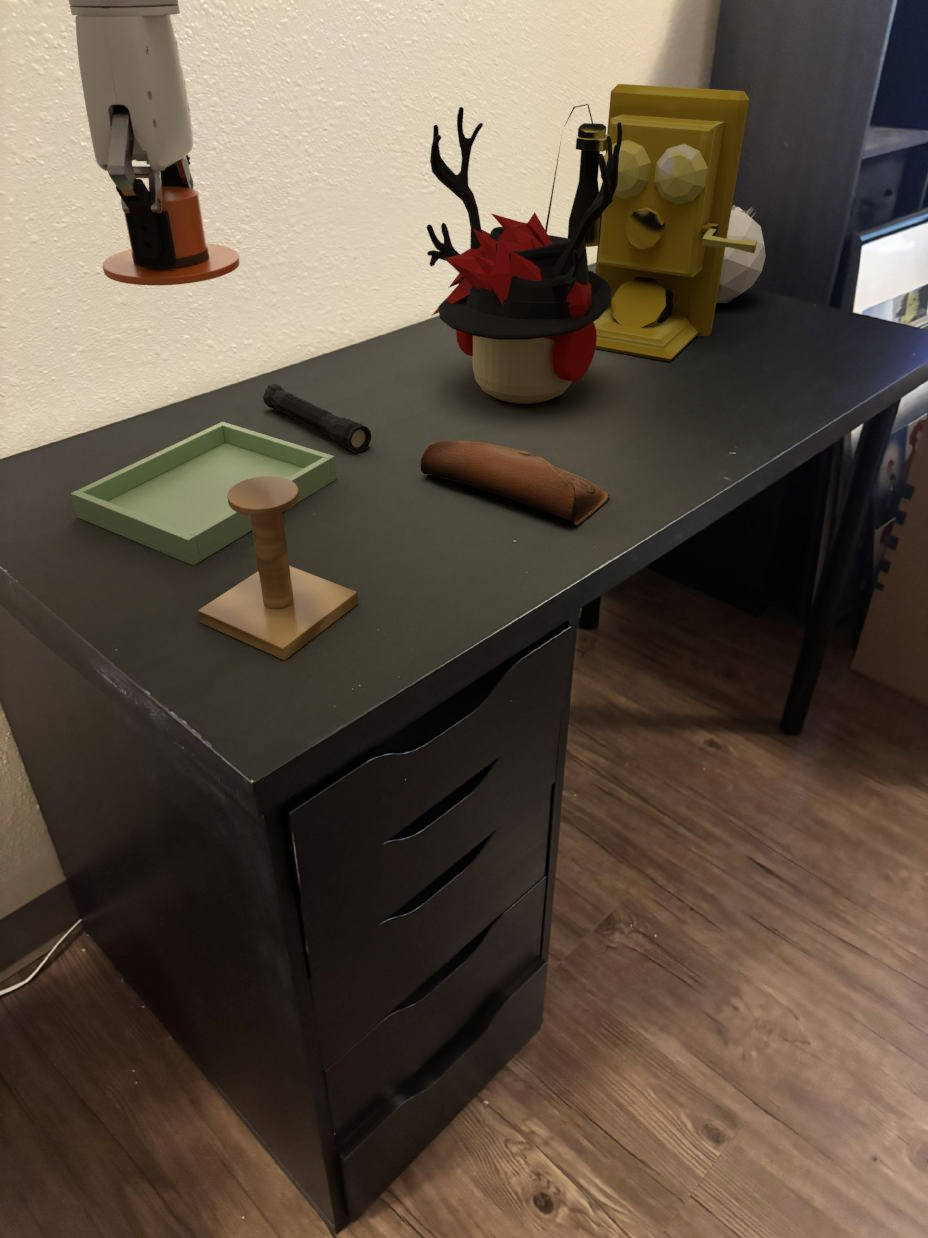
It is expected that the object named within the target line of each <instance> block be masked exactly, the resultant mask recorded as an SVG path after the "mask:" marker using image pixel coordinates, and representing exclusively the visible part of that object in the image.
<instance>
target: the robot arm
mask: <svg viewBox="0 0 928 1238" xmlns="http://www.w3.org/2000/svg"><path fill="white" fill-rule="evenodd" d="M68 5H69V8H70V13H71V16H75V30H76V31H75V33H76V47H77V56H78V64H79V72H80V80H81V85H82V92H83V99H84V105H85V109H86V115H87V121H88V127H89V133H90V138H91V144H92V149H93V154H94V158H95V162H96V164H97V165H98V167H99V168H100V169H101V170H103V171H104V172H107V173H108V176H109V177H110V179H111V180H112V182H113V184H114V185H115V190H116V192H117V193H118V195H119V196H120V204H121V209H122V211H123V214H124V213H125V215H126V220H127V224H128V229H129V234H130V239H131V244H132V249H133V254H134V259H135V262H136V264H137V265H139V266H173V265H174V264H175V263H176V261H177V260H176V254H175V248H174V243H173V237H172V232H171V226H170V220H169V215H168V211H162V192H161V187H185V188H191V189H194V188H195V187H194V186H195V185H194V179H193V176H192V172H191V169H190V165H191V162H190V161H191V157H190V156H189V154H190V153H191V152H192V151H193V150H192V149H193V147H194V133H193V124H192V123H193V122H192V117H191V110H190V109H191V108H190V102H189V97H188V91H187V86H186V80H185V76H184V69H183V64H182V61H181V56H180V51H179V46H178V40H177V38H176V32H175V28H174V25H173V20H172V19H173V18H172V15H177V14H178V15H179V14H181V10H180V9H181V8H180V5H179V0H68ZM133 161H136V162H145V163H146V165H149V166H138V165H137V166H136V165H133ZM143 179H148V187H147V185H146V184H145V183H144V181H143ZM147 188H149V191H148V189H147ZM194 190H195V189H194ZM126 220H125V221H126Z"/></svg>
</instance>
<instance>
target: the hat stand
mask: <svg viewBox="0 0 928 1238" xmlns="http://www.w3.org/2000/svg"><path fill="white" fill-rule="evenodd" d="M227 498H228V504H229V506H230V507H231V509H233V510H234V511H236V512H238V513H240V514H244V515H250V519H251V526H252V530H251V532H252V538H253V544H254V551H255V559H256V564H257V570H258V571H256V572H255V573H253V574H252V575H250V576H248V577H246V578H245V579H244V580H242V581H241V582H239V583H238V584H236V585H234V586H233V587H231V588H230V589H228V590H227V591H225V592H224V593H222V594H220V595H219V596H218V597H216V598H214V599H213V600H212V601H209V602H208V603H207V604H206V605H203V606H202V607H201V608H199V609H197V615H198V619H199V623H200V624H202V625H205V626H207V627H210V628H211V629H214V630H216V631H218V632H221V633H222V634H224V635H227V636H229V637H231V638H234V639H236V640H238V641H240V642H242V643H245V644H247V645H249V646H251V647H253V648H256V649H258V650H260V651H263V652H265V653H267V654H269V655H271V656H274V657H275V658H278V659H280V660H282V661H286V660H287V659H289V658H290V657H291V656H292V655H294V654H295V653H296V652H298V651H299V650H300V649H301V648H303V647H304V646H305V645H307V644H308V643H309V642H311V641H312V640H313V639H314V638H316V637H317V636H318V635H319V634H321V633H322V632H323V631H325V630H326V629H328V628H329V627H331V625H333V624H334V623H336V621H338V620H339V619H341V618H342V617H343V616H344V615H346V614H347V613H348V612H350V611H351V610H352V609H353V608H355V607H356V606H357V605H358V604H359V595H358V591H356V590H354V589H351V588H349V587H346V586H343V585H341V584H337V583H336V582H333V581H331V580H327V579H325V578H323V577H320V576H317V575H315V574H312V573H309V572H307V571H304V570H302V569H300V568H297V567H294V566H292V565H290V560H289V552H288V545H287V538H286V530H285V523H284V516H283V512H286V511H287V510H290V509H291V508H293V507H294V506H295V505H296V504H298V503H297V501H298V499H299V489H298V487H297V485H296V484H295V483H294V482H293V481H291V480H289V479H286V478H282V477H275V476H263V477H255V478H251V479H247V480H244V481H241V482H239V483H237V484H236V485H234V486H233V487H232V488H231V489H230V490H229V492H228V494H227Z"/></svg>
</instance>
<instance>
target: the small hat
mask: <svg viewBox="0 0 928 1238" xmlns="http://www.w3.org/2000/svg"><path fill="white" fill-rule="evenodd" d="M147 189H148V191H149V187H147ZM161 192H162V211H168V215H169V220H170V226H171V232H172V237H173V243H174V248H175V254H176V260H177V261H176V263H175V264H174V265H173V266H139V265H137V264H136V262H135V259H134V254H133V249H132V244H131V239H130V234H129V229H128V224H127V220H126V215H125V213H124V212H123V215H124V220H125V225H126V230H127V235H128V240H129V245H130V248H129V249H126V250H123V251H122V250H121V251H119V252H117V253H115V254H113V255H110V256H109V257H106V259H105V260H103V262H102V270H103V274H104V276H106V277H107V278H108V279H110V280H113V281H115V282H118V283H122V284H128V285H135V286H174V285H175V286H176V285H185V284H193V283H200V282H204V281H209V280H213V279H217V278H220V277H222V276H225V275H228V274H230V273H233V272H234V271H235V270H236V269H238V268H239V266H240V264H241V260H240V254H239V253H238V252H237V251H236V250H234V249H233V248H230V247H227V246H224V245H219V244H214V243H207V239H206V231H205V226H204V220H203V219H204V218H203V213H202V207H201V201H200V193H199V191H198V190H197V189H191V188H185V187H161Z"/></svg>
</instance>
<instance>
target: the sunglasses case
mask: <svg viewBox="0 0 928 1238" xmlns="http://www.w3.org/2000/svg"><path fill="white" fill-rule="evenodd" d="M420 472H421V473H422V474H423V475H429V476H433V477H436V478H440V479H444V480H448V481H451V482H457V483H459V484H463V485H468V486H473V487H476V488H477V489H480V490H483V491H486V492H489V493H491V494H494V495H496V496H500V497H504V498H508V499H510V500H512V501H515V502H517V503H520V504H522V505H526V506H528V507H532V508H534V509H538V510H541V511H543V512H546V513H549V514H551V515H554V516H557V517H559V518H562V519H563V520H569V521H571V523H573V524H574V525H575V526H579V525H581V524H582V523H584V522H585V521H586V520H588V519H589V518H591V517H592V515H594V514H595V513H596V512H597V511H598V510H599V509H600V508H601V507H602V506H603V505H604V504H605V503H607V501H608V500H609V499H610V494H609V492H607V491H606V490H604V488H602V487H601V486H599V485H597V484H596V483H594V482H592V481H590V480H589V479H586V478H584V477H582V476H580V475H578V474H575V473H573V472H571V471H568V470H565V469H563V468H560V467H558V466H555V465H553V464H552V463H550V462H549V461H548V460H547V459H545V458H544V457H542V456H540V455H537V454H532V453H530V452H528V451H525V450H521V449H517V448H513V447H509V446H503V445H500V444H493V443H491V442H484V441H483V442H482V441H473V440H443V441H435V442H432V443H431V444H429V445H427V447H426V448H425V449H424V452H423V454H422V456H421V460H420Z"/></svg>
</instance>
